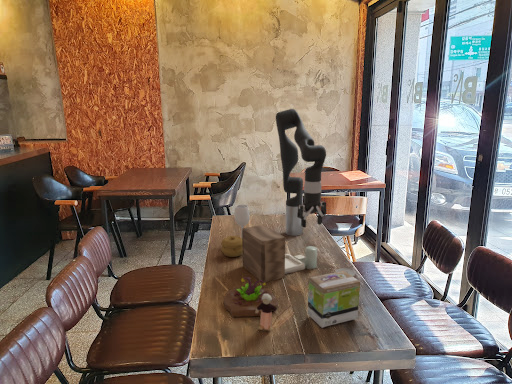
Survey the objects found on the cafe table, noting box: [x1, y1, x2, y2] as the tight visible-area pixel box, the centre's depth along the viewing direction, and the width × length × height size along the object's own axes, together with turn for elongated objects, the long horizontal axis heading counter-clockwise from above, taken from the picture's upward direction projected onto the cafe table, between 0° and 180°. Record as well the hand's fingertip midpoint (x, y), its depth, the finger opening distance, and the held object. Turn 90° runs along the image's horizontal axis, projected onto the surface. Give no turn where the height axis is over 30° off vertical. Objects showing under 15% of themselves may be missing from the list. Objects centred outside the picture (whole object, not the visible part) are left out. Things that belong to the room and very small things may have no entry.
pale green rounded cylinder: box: [304, 245, 318, 270], centre depth 173 cm, size 5×5×9 cm
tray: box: [285, 253, 306, 275], centre depth 175 cm, size 16×14×3 cm
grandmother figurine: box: [255, 294, 279, 331], centre depth 125 cm, size 8×4×13 cm, turn 90°
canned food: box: [335, 267, 357, 279], centre depth 144 cm, size 8×8×11 cm
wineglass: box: [233, 204, 251, 238], centre depth 201 cm, size 9×9×21 cm
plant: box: [223, 276, 279, 318], centre depth 142 cm, size 20×20×11 cm
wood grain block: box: [242, 224, 286, 283], centre depth 167 cm, size 11×19×18 cm, turn 28°
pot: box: [220, 235, 243, 258], centre depth 187 cm, size 12×12×10 cm
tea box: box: [306, 271, 361, 329], centre depth 131 cm, size 15×10×15 cm
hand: (311, 225), depth 169 cm, fingers open, 8 cm apart
